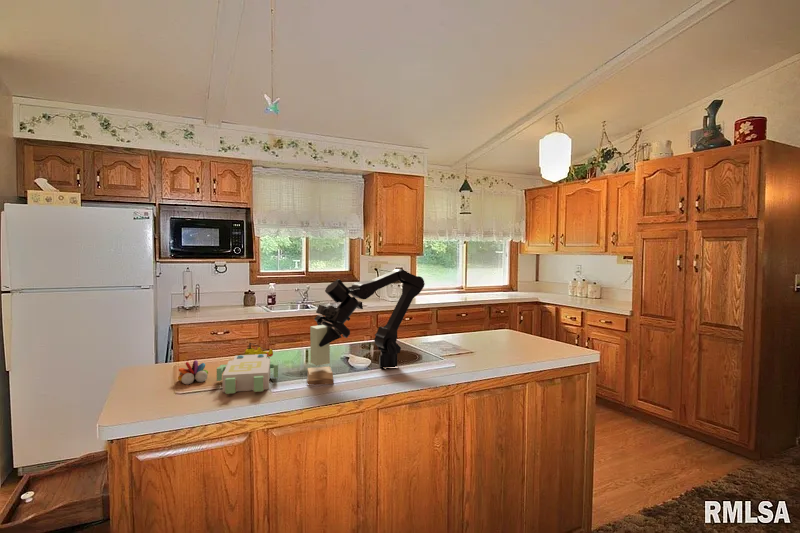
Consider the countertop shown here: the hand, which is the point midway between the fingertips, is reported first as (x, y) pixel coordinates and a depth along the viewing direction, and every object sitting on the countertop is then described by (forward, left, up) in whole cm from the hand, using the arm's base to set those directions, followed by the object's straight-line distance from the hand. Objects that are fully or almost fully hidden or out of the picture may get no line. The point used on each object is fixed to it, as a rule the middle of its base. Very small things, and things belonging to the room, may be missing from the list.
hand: (316, 344), depth 153 cm
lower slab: (-1, 0, -14) cm, 14 cm away
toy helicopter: (+25, -20, -13) cm, 34 cm away
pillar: (-1, -1, -7) cm, 7 cm away
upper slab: (-1, 0, -12) cm, 12 cm away
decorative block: (+23, -2, -13) cm, 27 cm away
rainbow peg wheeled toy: (+43, -7, -13) cm, 45 cm away
